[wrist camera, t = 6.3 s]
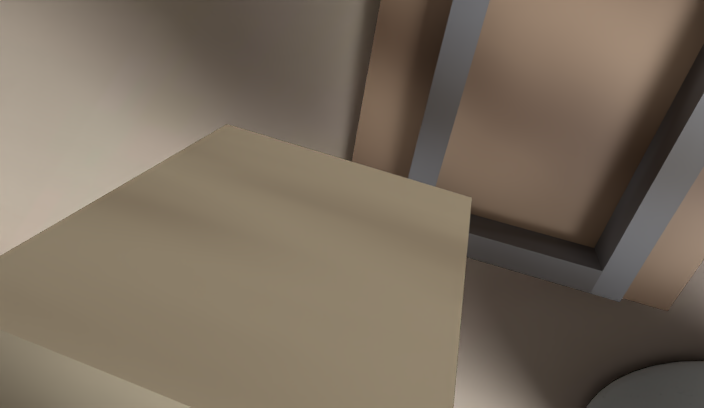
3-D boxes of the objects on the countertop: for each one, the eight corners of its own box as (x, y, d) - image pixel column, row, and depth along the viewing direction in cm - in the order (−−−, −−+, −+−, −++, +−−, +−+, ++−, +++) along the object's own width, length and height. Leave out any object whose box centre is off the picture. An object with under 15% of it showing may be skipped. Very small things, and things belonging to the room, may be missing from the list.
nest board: (417, -166, 13) (402, -193, 11) (919, -94, 11) (1020, -111, 9) (348, 205, 20) (330, 233, 18) (658, 294, 18) (682, 339, 15)
